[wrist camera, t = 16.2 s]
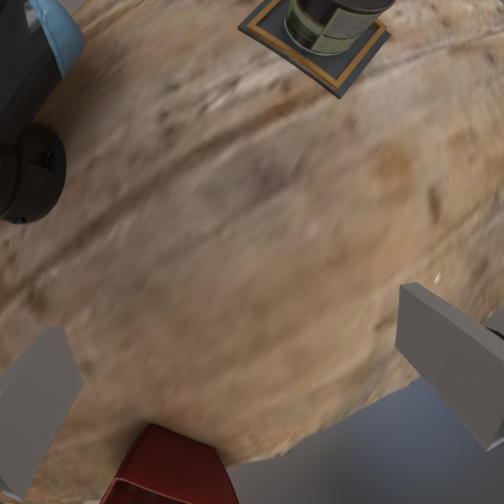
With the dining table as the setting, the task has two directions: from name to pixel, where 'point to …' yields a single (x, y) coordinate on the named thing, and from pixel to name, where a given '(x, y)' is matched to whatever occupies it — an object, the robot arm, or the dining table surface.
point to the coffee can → (330, 23)
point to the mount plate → (316, 66)
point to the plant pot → (170, 472)
